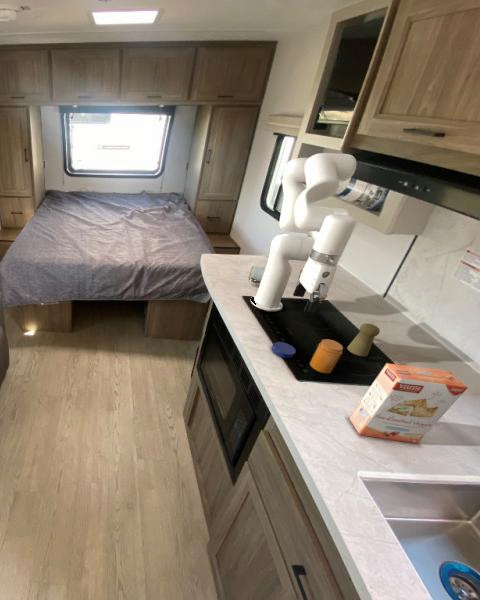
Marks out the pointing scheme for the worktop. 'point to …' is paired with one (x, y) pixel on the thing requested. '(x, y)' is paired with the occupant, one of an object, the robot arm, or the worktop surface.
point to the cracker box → (405, 402)
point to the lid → (283, 350)
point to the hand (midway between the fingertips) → (303, 303)
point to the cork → (363, 340)
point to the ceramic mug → (256, 274)
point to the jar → (326, 356)
